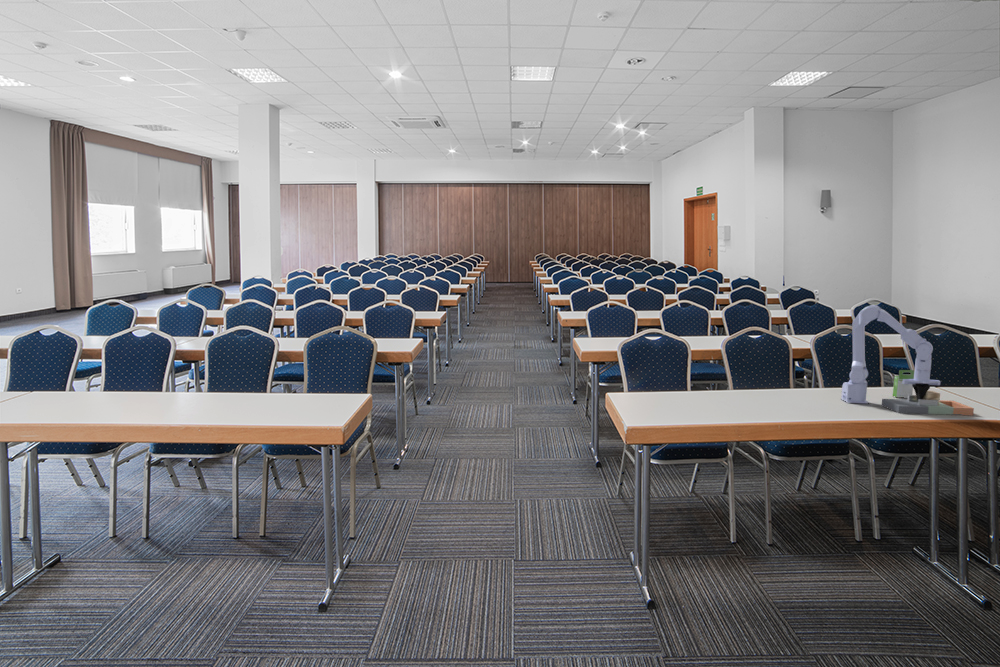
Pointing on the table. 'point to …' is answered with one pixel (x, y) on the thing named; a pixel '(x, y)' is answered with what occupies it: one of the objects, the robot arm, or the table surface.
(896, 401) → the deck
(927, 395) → the maple block
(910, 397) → the corridor walls
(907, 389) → the ink box
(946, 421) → the table surface
